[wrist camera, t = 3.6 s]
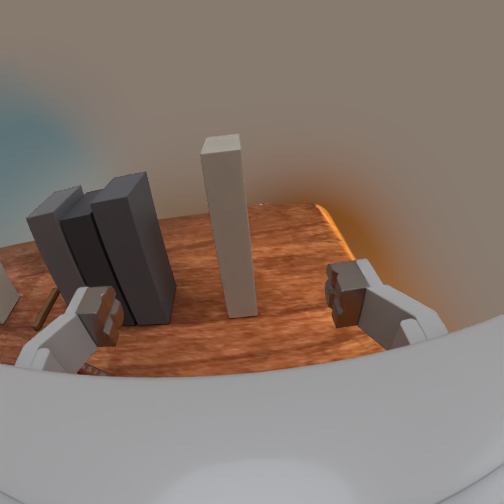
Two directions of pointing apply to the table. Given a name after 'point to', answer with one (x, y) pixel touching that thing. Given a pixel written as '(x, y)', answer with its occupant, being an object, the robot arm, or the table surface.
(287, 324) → the table surface
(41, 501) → the robot arm
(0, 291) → the white books
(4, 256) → the table surface
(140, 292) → the grey books
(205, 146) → the white book
